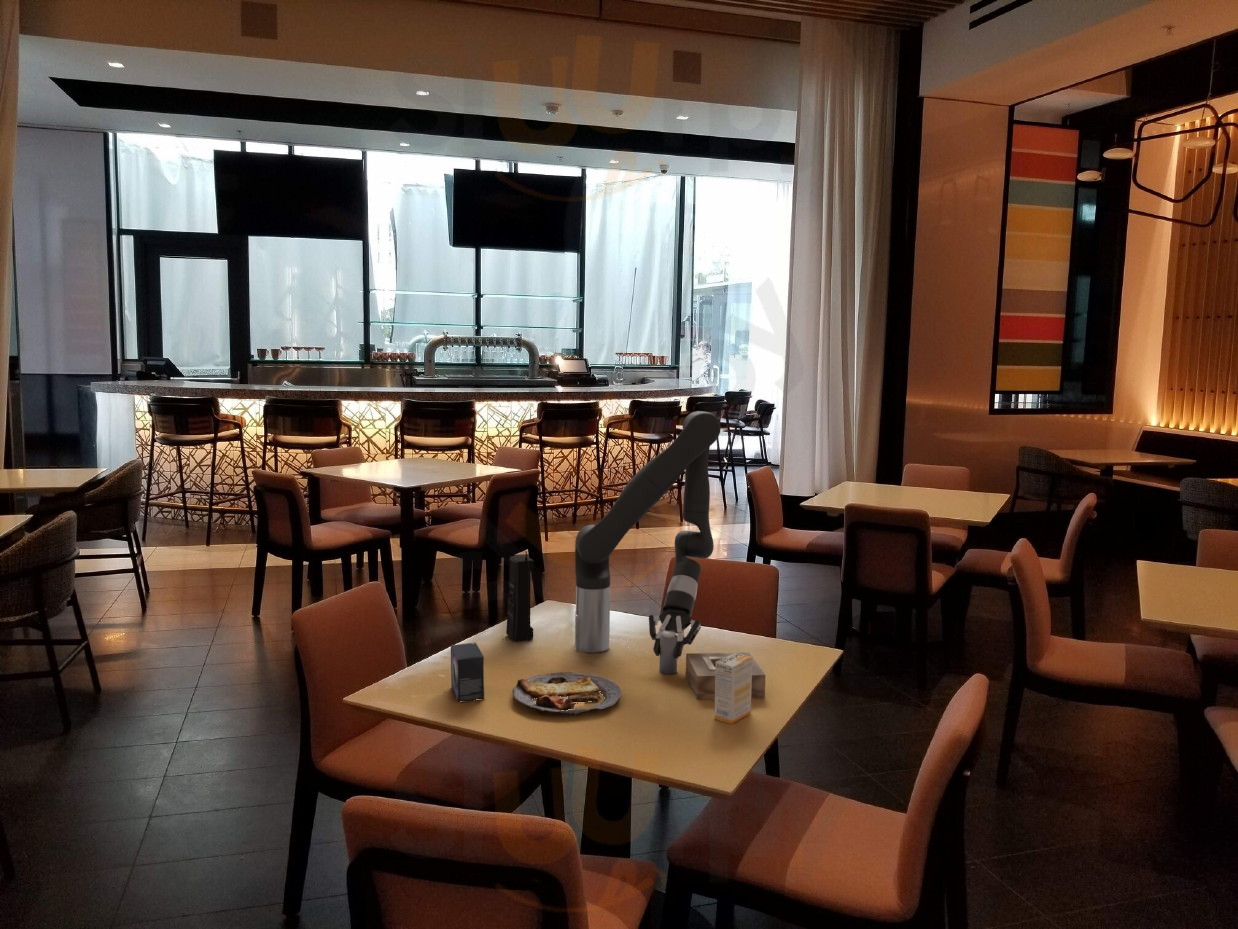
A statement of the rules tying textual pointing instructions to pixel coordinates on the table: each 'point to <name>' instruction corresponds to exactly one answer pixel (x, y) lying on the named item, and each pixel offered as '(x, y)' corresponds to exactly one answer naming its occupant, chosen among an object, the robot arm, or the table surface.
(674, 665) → the grey bottle
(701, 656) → the socket block
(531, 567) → the portable radio
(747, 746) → the table surface
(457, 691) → the small box
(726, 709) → the supplement box
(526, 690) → the food plate
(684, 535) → the robot arm
